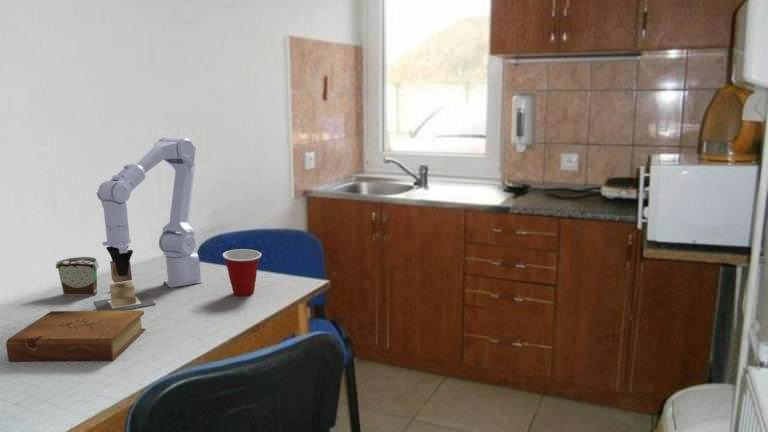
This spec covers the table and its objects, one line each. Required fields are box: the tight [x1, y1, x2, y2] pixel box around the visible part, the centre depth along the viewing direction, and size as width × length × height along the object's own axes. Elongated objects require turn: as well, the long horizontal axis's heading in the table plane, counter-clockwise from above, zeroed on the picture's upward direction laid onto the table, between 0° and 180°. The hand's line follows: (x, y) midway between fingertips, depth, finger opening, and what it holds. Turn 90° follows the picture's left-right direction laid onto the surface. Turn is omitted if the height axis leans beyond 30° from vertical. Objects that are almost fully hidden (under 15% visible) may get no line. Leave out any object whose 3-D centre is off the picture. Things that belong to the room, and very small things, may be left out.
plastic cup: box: [222, 248, 262, 297], centre depth 183 cm, size 11×11×12 cm
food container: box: [55, 256, 100, 297], centre depth 187 cm, size 12×6×10 cm, turn 84°
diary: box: [5, 309, 146, 363], centre depth 148 cm, size 23×19×6 cm
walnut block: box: [109, 260, 133, 284], centre depth 175 cm, size 4×4×5 cm
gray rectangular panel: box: [94, 292, 157, 311], centre depth 177 cm, size 14×12×1 cm
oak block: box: [109, 280, 136, 307], centre depth 177 cm, size 6×6×5 cm
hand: (121, 273), depth 176 cm, fingers closed on walnut block, 4 cm apart
